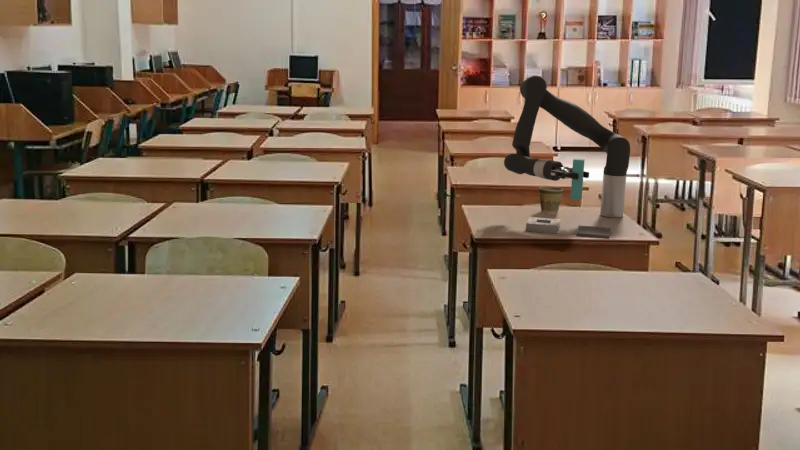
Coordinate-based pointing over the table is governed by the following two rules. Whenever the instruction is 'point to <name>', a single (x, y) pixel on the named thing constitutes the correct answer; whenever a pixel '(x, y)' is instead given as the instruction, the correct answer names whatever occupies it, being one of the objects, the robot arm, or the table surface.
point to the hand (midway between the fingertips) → (583, 175)
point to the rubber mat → (593, 231)
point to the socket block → (543, 225)
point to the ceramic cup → (550, 198)
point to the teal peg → (577, 183)
